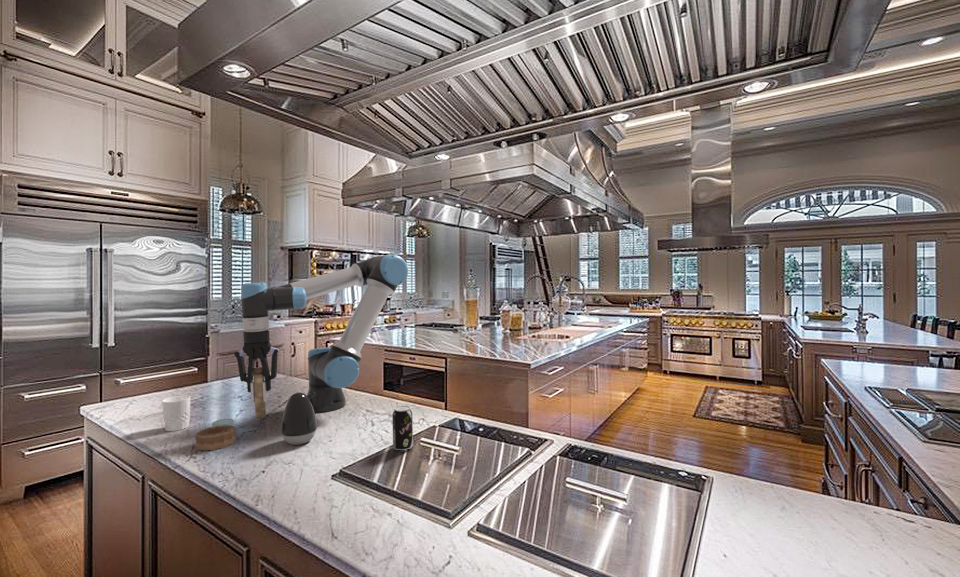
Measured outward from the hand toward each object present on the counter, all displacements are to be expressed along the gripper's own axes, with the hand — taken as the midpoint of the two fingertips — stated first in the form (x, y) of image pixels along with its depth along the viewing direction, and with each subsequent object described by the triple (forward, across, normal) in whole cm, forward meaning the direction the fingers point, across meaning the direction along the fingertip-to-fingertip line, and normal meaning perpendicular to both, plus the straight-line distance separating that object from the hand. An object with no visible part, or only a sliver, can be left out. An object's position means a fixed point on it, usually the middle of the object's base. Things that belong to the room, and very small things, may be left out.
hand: (260, 401), depth 141 cm
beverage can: (+11, +45, -25) cm, 53 cm away
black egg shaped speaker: (+10, +14, -12) cm, 22 cm away
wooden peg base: (+10, -11, -8) cm, 17 cm away
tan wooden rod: (+5, 0, 0) cm, 5 cm away
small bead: (+10, -13, +3) cm, 16 cm away
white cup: (+10, -30, +11) cm, 33 cm away
